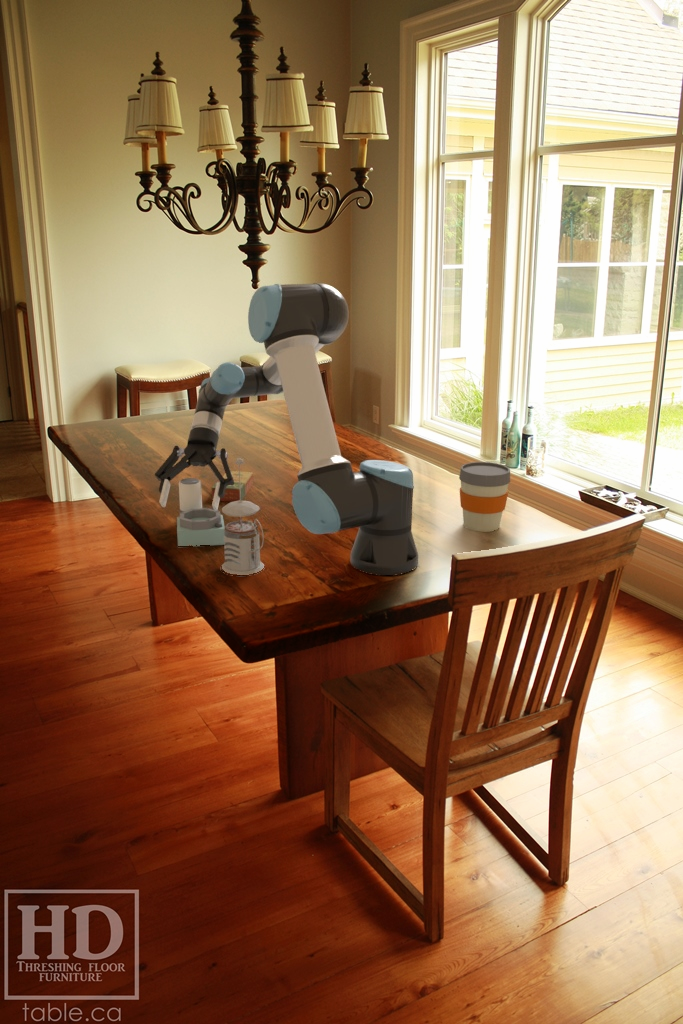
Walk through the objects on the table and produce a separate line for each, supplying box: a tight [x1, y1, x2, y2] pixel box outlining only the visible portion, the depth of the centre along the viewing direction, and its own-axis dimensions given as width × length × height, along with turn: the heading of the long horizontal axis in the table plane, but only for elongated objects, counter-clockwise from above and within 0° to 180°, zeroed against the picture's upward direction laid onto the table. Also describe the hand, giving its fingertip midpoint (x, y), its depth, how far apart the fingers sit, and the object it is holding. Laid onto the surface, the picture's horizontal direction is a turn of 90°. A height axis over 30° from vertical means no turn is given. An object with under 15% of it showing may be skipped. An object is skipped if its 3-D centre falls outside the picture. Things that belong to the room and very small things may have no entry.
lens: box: [178, 477, 204, 514], centre depth 210 cm, size 6×6×11 cm
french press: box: [221, 457, 265, 576], centre depth 181 cm, size 10×12×25 cm
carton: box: [211, 470, 254, 502], centre depth 236 cm, size 8×16×4 cm, turn 173°
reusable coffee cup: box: [459, 461, 511, 533], centre depth 210 cm, size 13×13×15 cm
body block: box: [176, 507, 226, 547], centre depth 201 cm, size 10×11×6 cm
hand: (188, 506), depth 209 cm, fingers open, 13 cm apart
